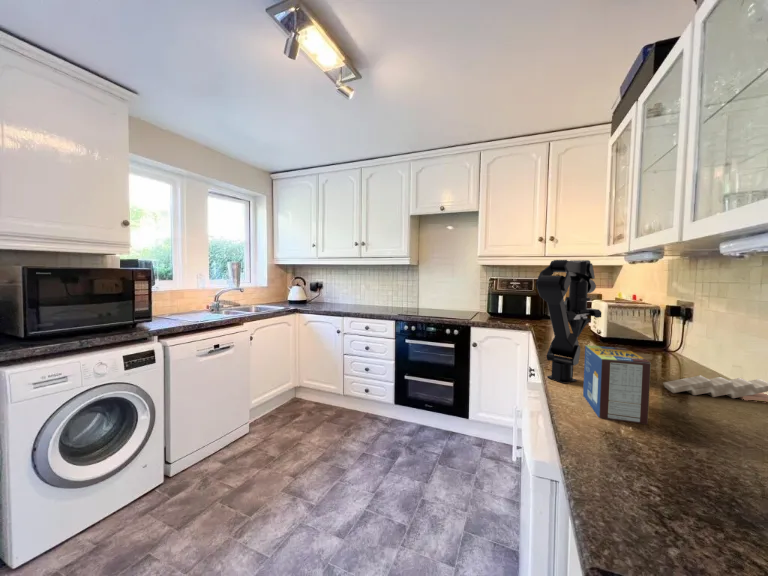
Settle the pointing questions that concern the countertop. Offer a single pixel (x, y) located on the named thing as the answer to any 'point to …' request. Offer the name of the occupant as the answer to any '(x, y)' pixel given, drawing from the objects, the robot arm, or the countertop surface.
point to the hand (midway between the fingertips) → (576, 337)
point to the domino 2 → (717, 383)
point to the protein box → (617, 383)
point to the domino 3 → (738, 387)
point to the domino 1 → (687, 384)
